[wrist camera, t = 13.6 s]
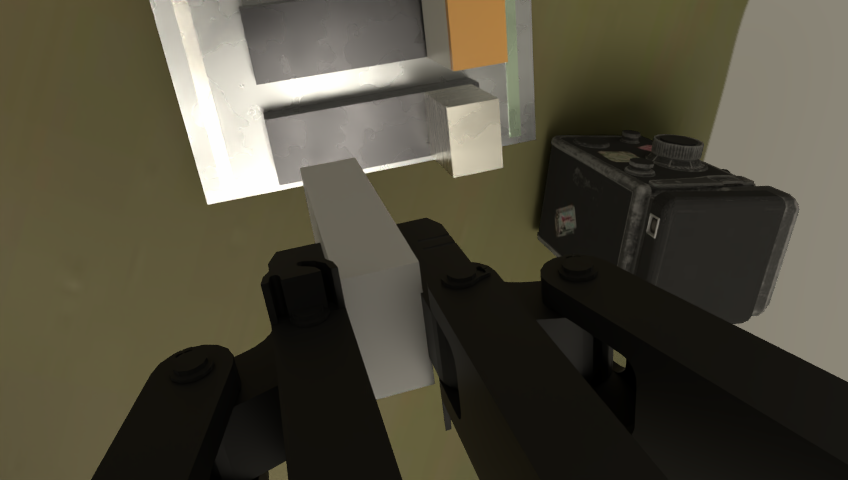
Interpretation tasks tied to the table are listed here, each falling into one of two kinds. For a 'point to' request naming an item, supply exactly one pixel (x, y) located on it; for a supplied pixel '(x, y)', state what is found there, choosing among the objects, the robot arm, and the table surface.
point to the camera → (668, 219)
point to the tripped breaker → (465, 32)
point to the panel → (335, 90)
